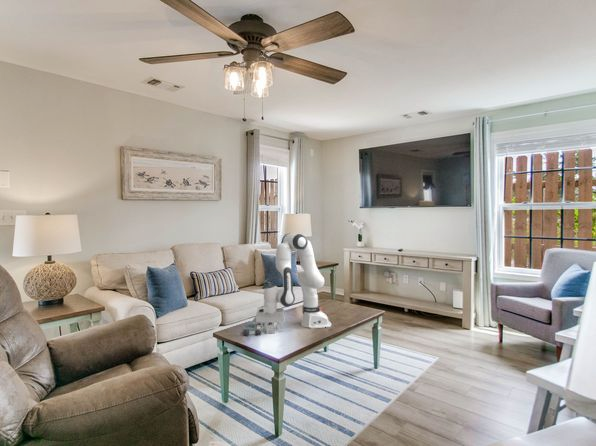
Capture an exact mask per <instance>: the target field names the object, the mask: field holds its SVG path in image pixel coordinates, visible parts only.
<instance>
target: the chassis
mask: <svg viewBox="0 0 596 446" xmlns="http://www.w3.org/2000/svg"><path fill="white" fill-rule="evenodd" d="M262 331H263V329H262V326H261V325H260V324H244V325H243V330H242V334H243V336H245V337H248V336H249V335H252V336H253V335H255V336H257V337H260V336H261V335H262Z"/></svg>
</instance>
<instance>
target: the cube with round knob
mask: <svg viewBox="0 0 596 446" xmlns="http://www.w3.org/2000/svg"><path fill="white" fill-rule="evenodd" d="M265 325H266V326H265V327H266V329H265V330H266V333H265V334H266V335H274V333H275V323H266V324H265Z"/></svg>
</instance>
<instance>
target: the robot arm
mask: <svg viewBox="0 0 596 446" xmlns="http://www.w3.org/2000/svg"><path fill="white" fill-rule="evenodd" d="M294 250H297V251H298V252H297V253H298V260H299V262H300V263H299V264H300V267H301V268H302V271H300V272H299V273H298V274H297V279H296V280H297V282H298V284H299V285H300V287H301V293H302V304H303V305H302V308H301V309H302V310H301V311H302V319H301V322H300V326H302V327H304V328H308V329H311V330H312V329H324V328H325V327H326V328H331V327H332V322H331V321H330V320H329V317H328V316H327V314H326V313H324V312H323V311H322V310H323V309H322V307H321V306H320V305H319V295H318V293H317V291H316V289H317V290H318V289H322V288H323V286H324V285H325V277H324V276H323V275H322V274H321V272H320V271H319V268H318V266H317V263H316V259H315V253H314V249H313V245H312V243H311V241H310V240H309V239H307V238H306V236H305V235H304V234H302V233H291V232H290V233H285V234H284V235H283V237H282V239H281V242H280V243H279V244H278V245H277V247H276V252H275V268H276V270H277V271H278V272H279V273H280V275H281V277H282V285H283V286H282V287H283V288H281V287H279V286H276V285H275V284H269V285H266V286H265V287H264V290H263V301H264V302H263V305H261V306H259V307H257V310H256V314H255V317H256V319H255V322H256V324H258V323H261V326H262V330H264V329H265V325H264V326H263V323H266V324H267V323H274V324H275V323H277V324H276V325H275V329H276V330H278V329H279V326H280V325H281V324H280V323H284V322H285V320H286V319H285V315H286V309H284V308H278V307H277V304H278V303H280V304H281V305H282V306H284V307H288V308H289V307H291V306H292V305H293V304H294V303H295V300H296V297H295V294H294V289H293V288H294V286H293V285H294V284H293V272H292V254H293V251H294ZM255 322H254V323H255Z"/></svg>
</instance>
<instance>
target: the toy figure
mask: <svg viewBox="0 0 596 446" xmlns="http://www.w3.org/2000/svg"><path fill="white" fill-rule="evenodd" d="M255 319H256V316H255V317H253V320H252V323H256V322H255ZM256 324H257V325H259V324H260V325H261V323H256ZM265 325H267V323H263V326H264V327H265Z"/></svg>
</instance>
